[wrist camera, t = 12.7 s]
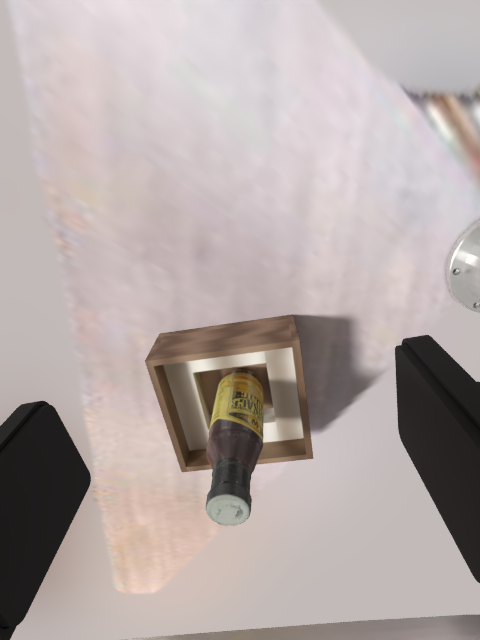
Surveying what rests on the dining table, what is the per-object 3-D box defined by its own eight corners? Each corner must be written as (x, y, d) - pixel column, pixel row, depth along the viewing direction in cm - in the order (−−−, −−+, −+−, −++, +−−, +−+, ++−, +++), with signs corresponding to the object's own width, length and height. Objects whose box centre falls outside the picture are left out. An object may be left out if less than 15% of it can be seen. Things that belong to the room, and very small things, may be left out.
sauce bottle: (272, 385, 49) (284, 517, 31) (240, 409, 51) (234, 547, 33) (238, 355, 47) (231, 477, 29) (207, 382, 49) (181, 512, 31)
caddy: (292, 314, 46) (299, 339, 39) (305, 422, 53) (313, 458, 47) (159, 333, 47) (145, 361, 41) (189, 435, 55) (181, 472, 48)
